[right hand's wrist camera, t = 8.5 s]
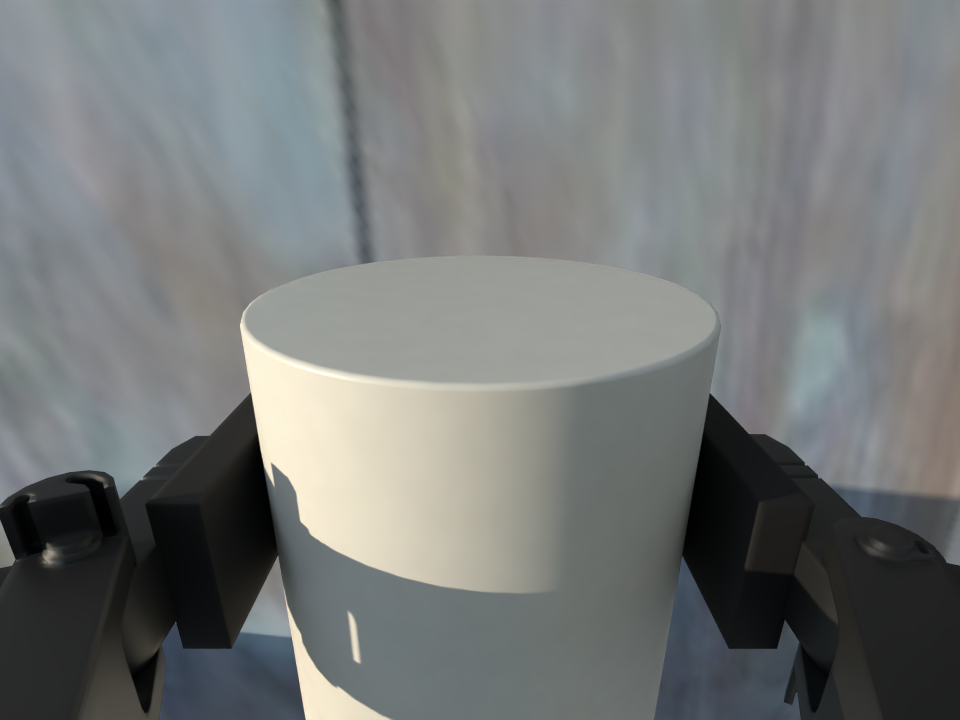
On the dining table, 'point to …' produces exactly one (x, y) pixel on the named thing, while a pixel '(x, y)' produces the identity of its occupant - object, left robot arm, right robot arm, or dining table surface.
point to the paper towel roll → (480, 482)
